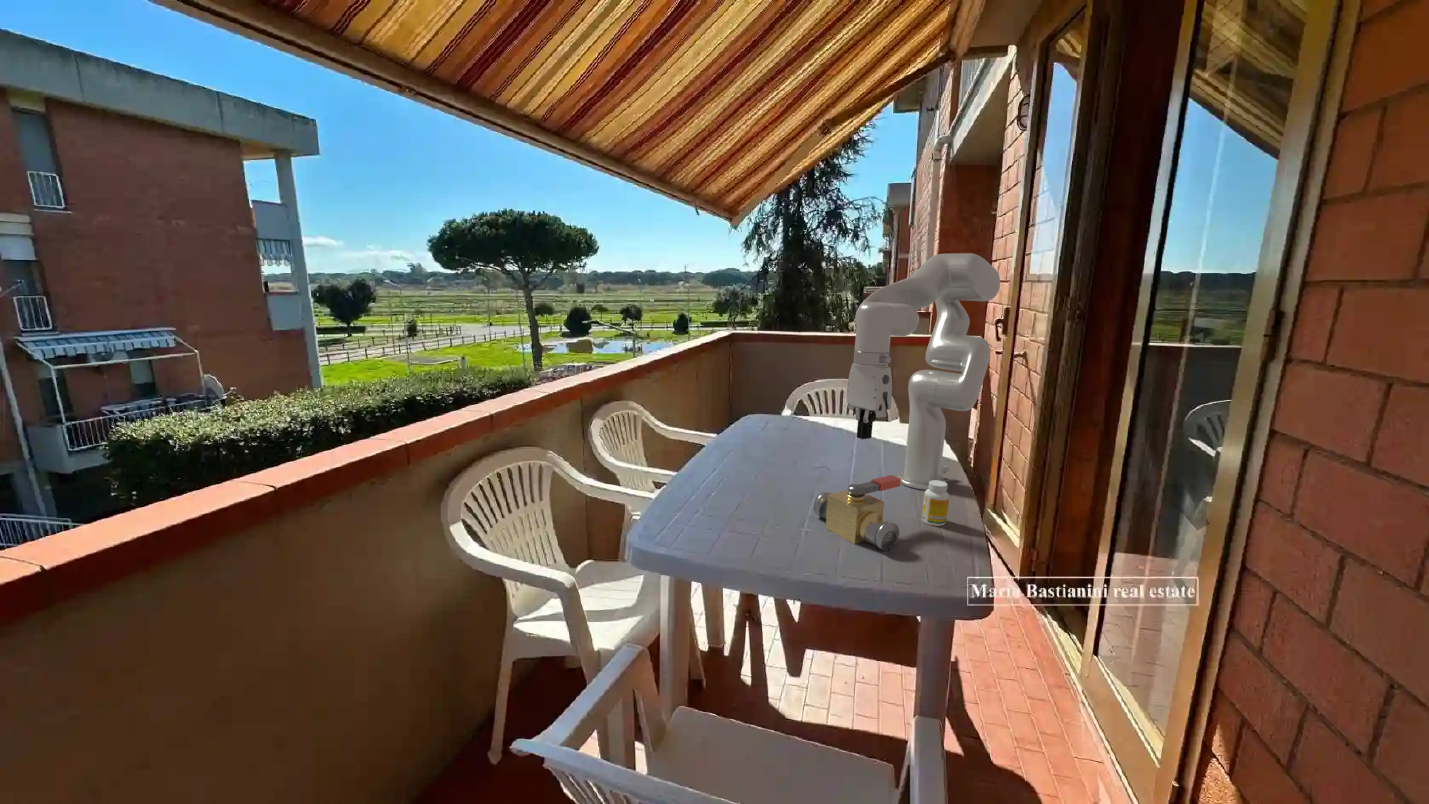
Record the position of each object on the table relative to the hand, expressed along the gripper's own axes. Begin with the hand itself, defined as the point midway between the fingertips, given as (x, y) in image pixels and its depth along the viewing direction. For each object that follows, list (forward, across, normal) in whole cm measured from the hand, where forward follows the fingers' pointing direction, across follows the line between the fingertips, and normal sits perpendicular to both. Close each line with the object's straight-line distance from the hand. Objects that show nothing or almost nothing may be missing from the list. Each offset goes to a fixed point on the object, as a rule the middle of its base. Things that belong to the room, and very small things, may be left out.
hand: (863, 437), depth 131 cm
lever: (+10, -6, +2) cm, 12 cm away
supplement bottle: (+19, -12, -13) cm, 26 cm away
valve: (+19, -6, +8) cm, 22 cm away
